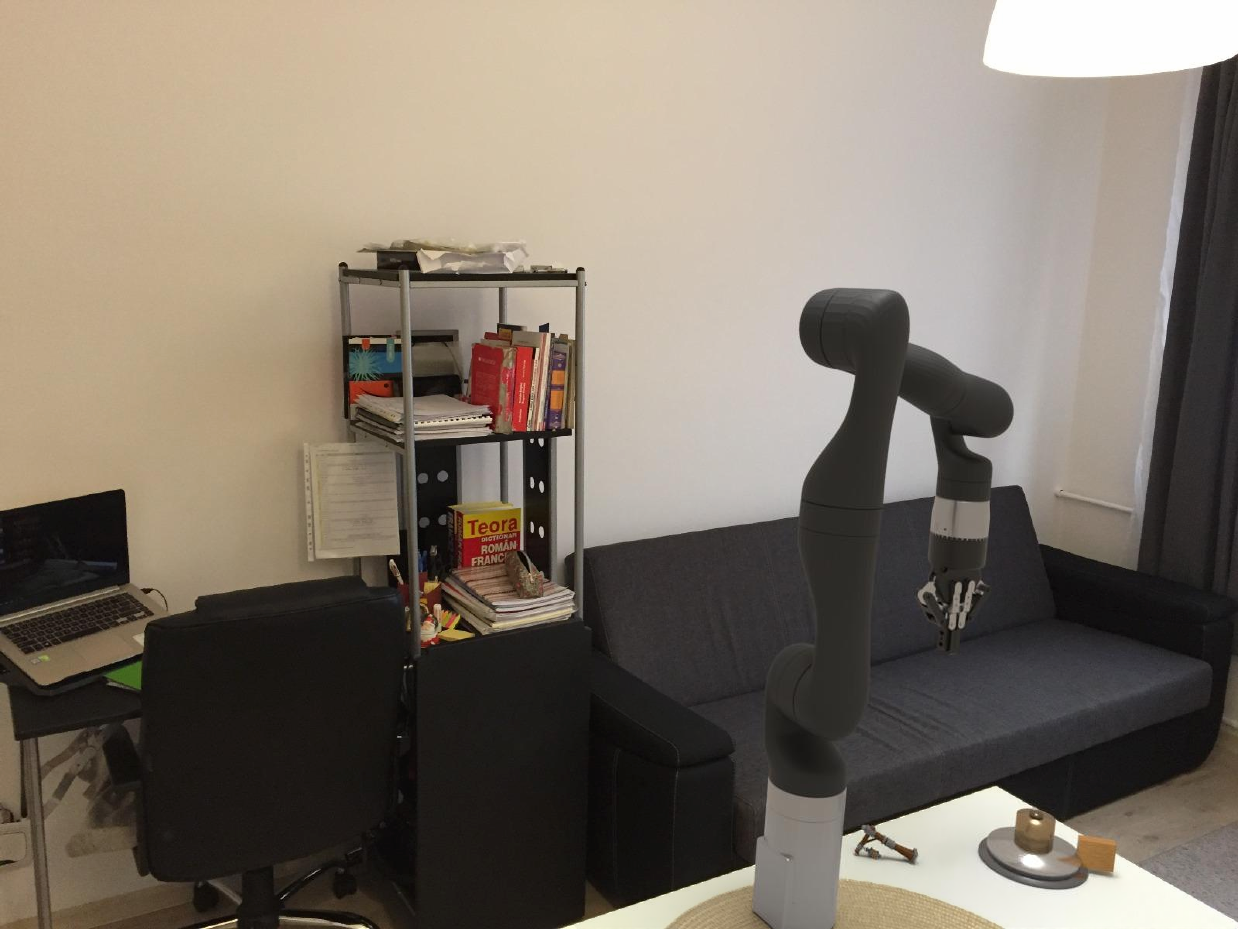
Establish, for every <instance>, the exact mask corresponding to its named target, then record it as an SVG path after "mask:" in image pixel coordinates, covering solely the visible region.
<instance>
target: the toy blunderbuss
mask: <svg viewBox="0 0 1238 929" xmlns="http://www.w3.org/2000/svg"><path fill="white" fill-rule="evenodd" d="M861 830H862V831H863V833H864V836H863V837H862V838H861V840H860V841H859V842H858V843H857V845H856V847H855V849H854V853H855V854H857V855H860V853H861V851H862V850H864V851H865V853H867V856H868V857H872V858H874V860H875V859H876V860H877V859H882V854H880V851H879V850H876V849H874V848H873V846H871V847H870V848H869V847H866V844H869V843H871V842H875V841H878V842H880V844H881V845H883V846H884V847H887V848H888V849H890V850H891V851H895V852H897V853H899V854H900V855H901V856H903V857H904V858H905V859H906V860H908V864H909V865H913V864H915V862H916V861H917V858H918V857H919V852H918V848H916V847H913V849H911V848H908V847H907V846H903V845H901V844H898V843H896V841H895V840H893V839H892V838H890V837H889V836H886V835H885V834H881V833H880V832H879V831H877V830H876V826H875V825H871V826H870V825H869V824H862V826H861Z"/></svg>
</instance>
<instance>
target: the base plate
mask: <svg viewBox="0 0 1238 929" xmlns="http://www.w3.org/2000/svg"><path fill="white" fill-rule="evenodd" d="M987 837H988V836H986V837H983V839H982V840H981V841H980V842H979V844H978V850H977V852H978V856H979V857H980V859H981V861H982V863H984V864H985V865H986V866H987V867H988V868H989V869H991V870H993V871H994V872H995V873H997V874H999V875H1001V876H1002V877H1004V878H1006V879H1008V880H1011V881H1014V882H1016V883H1020V884H1023V885H1026V886H1030V887H1035V888H1039V889H1045V890H1067V889H1073V888H1076V887H1077V888H1078V887H1079V886H1082V885H1083V884H1084V883H1086V881H1087V880H1088V877H1089V872H1090V871H1089V868H1083V867H1081V868H1080V872H1079V873H1078V874H1077V875H1076V876H1074V877H1072V878H1068V879H1063V880H1044V879H1037V878H1033V877H1029V876H1025V875H1022V874H1019V873H1016V872H1014V871H1011V870H1009V869H1007V868H1005V867H1003V866H1002V865H1000V864H999V863H997V862H996V861H995V860H994V859H993V858H992V857H991V856H990V855H989V854H988V852H987V849H986V845H987Z"/></svg>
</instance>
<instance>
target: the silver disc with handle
mask: <svg viewBox="0 0 1238 929" xmlns="http://www.w3.org/2000/svg"><path fill="white" fill-rule="evenodd" d="M1014 833H1015V826H1004V827H998V828H995V829H994V830H991V831H990V833H989V834H988V835H987V836H986V837H987V845H986V849H987V852H988V854H989V855H990V856H991V857H992V858H993V859H994V860H995V861H996V862H997V863H999V864H1000V865H1002V866H1003V867H1005V868H1007V869H1009V870H1011V871H1014V872H1016V873H1019V874H1022V875H1025V876H1029V877H1033V878H1037V879H1044V880H1063V879H1068V878H1072V877H1074V876H1076V875H1077V874H1078V873H1079V872H1080V868H1081V867H1083V868H1088V870H1089V869H1091V870H1097V871H1103V872H1109V873H1114V869H1115V862H1116V856H1117V855H1116V854H1117V844H1116V840H1114V839H1107V838H1101V837H1096V836H1094V837H1093V836H1088V835H1083V834H1078V835H1077V843H1076V847H1075V846H1074V845H1073V844H1072V843H1070V842H1068V841H1067V840H1065V839H1064V838H1061V837H1059V836H1058V835H1056V834H1054V842H1053V850H1052V851H1051V852H1049V853H1045V854H1038V853H1032V852H1029V851H1026V850H1023V849H1021V848H1020V847H1018V846H1017V845H1016V844H1015V843H1014Z"/></svg>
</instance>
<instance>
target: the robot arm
mask: <svg viewBox="0 0 1238 929" xmlns="http://www.w3.org/2000/svg"><path fill="white" fill-rule="evenodd" d="M799 318H800V319H799V325H798V334H799V335H798V336H799V340H800V344H801V346H802V349H803V352H804V353H805V355H806V356H807V357H808V358H809V359H810V360H811V361H812V362H814V363H815V364H816V365H819V366H822V367H825V368H826V369H827V368H829V369H832V370H836V371H841V372H845V373H847V374H850V375H854V380H853V381H854V382H853V389H852V392H851V396H850V400H849V406H848V409H847V412H846V414H845V416H844V418H843V420H842V422H841V424H840V426H839V427H838V429H837V431H836V432H835V434H834V435H833V437H832V438H831V439H830V440H829V442H828V443H827V444H826V446H825V447H824V449H823V450H822V451H821V452H820V454H819V455H818V457H817V458H816V460H815V461H814V462H813V464H812V465H811V466H810V469H809V470H808V472H807V473H806V475H805V478H804V480H803V483H802V487H801V493H800V503H799V511H798V513H799V514H798V523H797V547H798V553H799V557H800V561H801V565H802V567H803V571H804V576H805V578H806V581H807V586H808V588H809V592H810V596H811V599H812V603H813V608H814V615H815V639H814V644H810V643H806V642H805V643H804V642H798V643H794V644H793V643H792V644H790V645H789V646H787V647H785V648H783V649H782V650H781V651H780V652H779V653H778V654H777V655H776V657H775V658H774V659H773V662H772V663H771V666H769V667H770V668H769V670H768V672H767V677H766V682H765V689H764V690H765V691H764V705H763V707H764V710H763V713H764V718H763V720H764V721H763V749H764V754H765V757H766V760H767V764H768V780H767V781H768V782H767V790H766V792H767V795H766V804H765V806H766V807H765V819H764V820H765V821H764V834H763V835H762V836H759V837H758V838H757V839H756V850H755V864H754V878H753V880H754V881H753V890H752V892H753V893H752V894H753V895H752V904H751V905H752V908H751V909H752V911H753V912H754V913H755V914H757V915H758V916H759V917H760V918H761V919H762V920H763V921H764V922H766V923H767V924H768V925H769V926H770V927H771V928H772V929H832V928H833V927H834V926H835V924H836V918H837V917H836V916H837V906H838V897H839V896H838V895H839V894H838V893H839V883H840V882H839V880H840V869H841V857H842V845H843V836H844V835H843V833H844V824H845V811H846V810H845V809H846V801H847V800H846V798H847V786H848V776H849V775H848V772H849V771H848V770H849V769H848V764H847V761H846V760H845V757H844V755H842V753H841V751H840V750H839V749H838V747H837V746H836V744H835V742H837V741H843V740H844V739H846V738H848V737H850V736H851V735H852V734H853V733H854V732H855V731H856V730H857V728H858V727H859V725H860V724H861V723H862V720H863V718H864V716H865V713H866V710H867V707H868V703H869V702H868V701H869V698H870V696H869V695H870V685H871V684H870V683H871V624H872V623H871V619H872V606H873V594H874V584H875V573H876V572H875V571H876V561H877V555H878V554H877V553H878V549H879V548H878V547H879V541H880V534H881V526H882V518H883V510H884V508H883V507H884V501H885V500H884V499H885V498H884V497H885V484H886V474H887V467H888V458H889V450H890V443H891V434H892V430H893V423H894V418H895V417H894V416H895V413H896V408H897V404H898V399H899V398H901V399H902V400H903V401H904V402H907V403H909V404H910V405H911V406H913V407H915V408H916V409H918V410H920V411H921V412H923V413H924V414H926V415H928V416H929V421H930V426H931V432H932V437H933V442H934V448H935V454H936V455H935V456H936V461H937V476H936V485H935V486H936V487H935V497H934V501H933V502H934V503H933V506H932V511H931V518H930V529H929V531H930V532H929V541H928V550H927V552H928V553H927V559H928V561H929V563H930V565H931V570H930V572H929V574H928V576H927V581H928V583H926V585H925V586H923V588H916V589H914V590H913V596H914V598H915V600H916V601H917V604H918V605H919V607H920V610H922V612H923V615H924V616H925V618H926V620H927V621H928V622H929V623H932V624H934V625H937V641H936V647H937V648H936V649H937V650H938V652H939V653H941V654H943V655H945V656H951V655H957V653H958V650H959V648H960V645H961V644H960V643H961V642H960V641H961V633H962V632H961V631H962V629H963V628H964V627H965V624H966V623H969V624H970V623H971V624H972V623H973V622H974V621H975V619H976V617H977V616H978V615H979V613H980V611H981V610H982V608H983V606H984V605H985V604H986V602H987V600H988V599H989V597H990V595H991V594H992V591H993V588H992V586H990V585H988V584H985V583H984V582H983V581H982V580H981V579H982V574H981V569H983V568H984V567H985V566H986V563H987V562H986V560H987V551H988V541H989V529H990V523H991V522H990V519H991V512H990V510H991V509H990V504H991V500H990V499H991V492H992V480H993V472H994V471H993V462H992V461H991V460H990V459H989V458H988V457H986V456H984V455H981V454H979V453H976V452H974V451H972V450H970V449H969V448H968V446H967V443H966V441H965V437H972V438H979V439H993V438H997V437H999V436H1001V435H1002V434H1004V433H1005V432H1006V431H1007V430H1008V429H1009V428H1010V426H1011V424H1012V422H1013V419H1014V415H1015V414H1014V412H1015V410H1014V408H1015V407H1014V403H1013V401H1012V398H1011V396H1010V394H1009V393H1008V391H1007V390H1006V389H1004V387H1002V386H1001V385H1000V384H997V383H996V382H994V381H991V380H989V379H986V378H983V377H980V376H978V375H975V374H973V373H968V372H966V371H963V370H962V369H961V368H960V367H958V366H957V365H955V364H954V363H953V362H952V361H950V360H949V359H948V358H946V357H944V356H943V355H942V354H940V353H937V352H936V351H933V350H931V349H929V348H927V347H923V346H921V345H918V344H914V343H912V342H909V341H910V333H911V330H910V329H911V328H910V327H911V320H910V318H911V316H910V311H909V306H908V304H907V302H906V300H905V298H904V297H903V295H902V294H900V293H899V291H896V290H892V289H889V288H888V289H886V288H864V287H863V288H862V287H861V288H860V287H858V288H857V287H856V288H855V287H833V288H826V289H822V290H820V291H818V292H816V293H815V294H813V295H812V296H810V298H809V299H808V300H807V302H806V303H805V305H804V306H803V308H802V311H801V314H800V317H799ZM898 397H899V398H898ZM964 436H965V437H964Z"/></svg>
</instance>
